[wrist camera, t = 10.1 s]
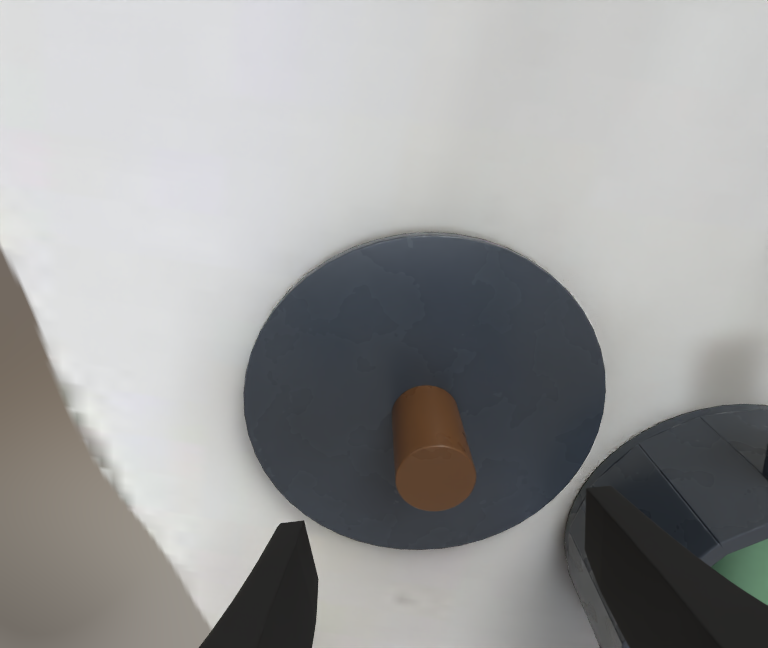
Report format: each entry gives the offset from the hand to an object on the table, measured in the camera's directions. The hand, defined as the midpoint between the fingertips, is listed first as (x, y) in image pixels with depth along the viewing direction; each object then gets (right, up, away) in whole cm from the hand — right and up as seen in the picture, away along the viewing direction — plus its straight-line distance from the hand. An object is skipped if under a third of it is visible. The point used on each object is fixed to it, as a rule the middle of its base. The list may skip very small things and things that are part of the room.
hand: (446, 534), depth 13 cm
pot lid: (0, +2, +6) cm, 6 cm away
